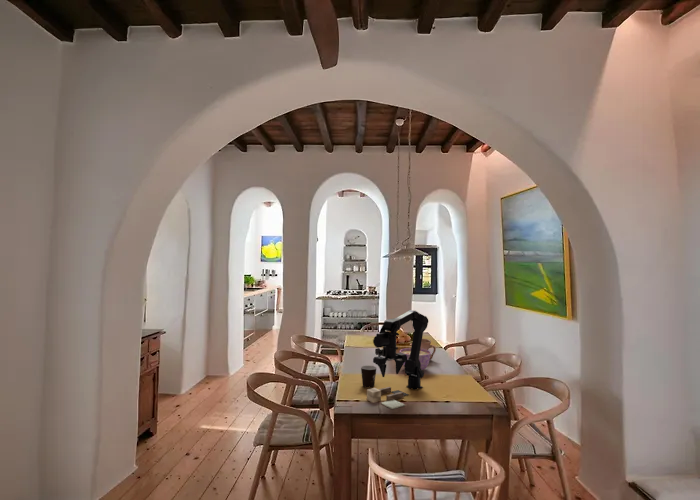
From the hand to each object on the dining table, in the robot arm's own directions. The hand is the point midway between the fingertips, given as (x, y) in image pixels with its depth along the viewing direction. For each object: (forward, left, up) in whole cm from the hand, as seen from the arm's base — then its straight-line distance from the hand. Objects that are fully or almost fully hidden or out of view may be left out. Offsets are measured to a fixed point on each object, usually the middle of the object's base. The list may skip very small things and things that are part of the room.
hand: (390, 375), depth 200 cm
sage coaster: (+7, +10, -10) cm, 16 cm away
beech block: (+11, 0, -11) cm, 15 cm away
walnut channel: (+1, 0, -10) cm, 11 cm away
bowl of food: (-45, -28, -11) cm, 54 cm away
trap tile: (-7, 0, -10) cm, 12 cm away
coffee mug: (-2, -19, -11) cm, 22 cm away
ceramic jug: (-66, -42, -11) cm, 79 cm away
